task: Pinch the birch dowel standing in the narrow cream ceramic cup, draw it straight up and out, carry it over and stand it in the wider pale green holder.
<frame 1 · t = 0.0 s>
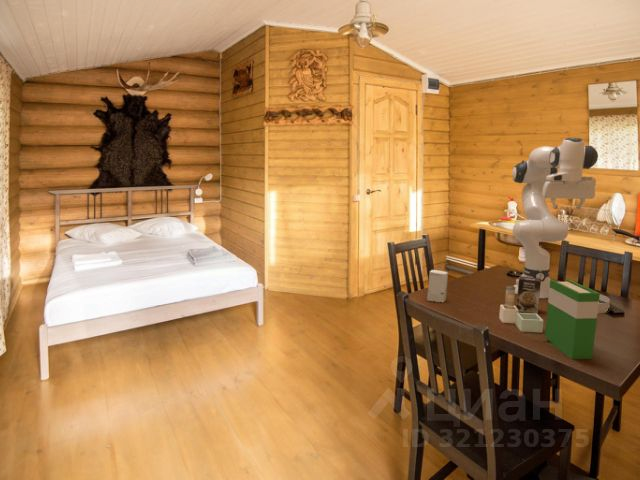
hand: (566, 209, 191), 48 cm above the table, tool pointing down, fingers open, 8 cm apart
green cereal box: (567, 348, 165), on the table
holder: (528, 330, 182), on the table
coffee box: (526, 312, 203), on the table
dowel: (508, 320, 190), point 1 cm above the table, touching cup
skincare box: (436, 300, 221), on the table
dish: (581, 306, 212), on the table
cup: (507, 322, 190), on the table
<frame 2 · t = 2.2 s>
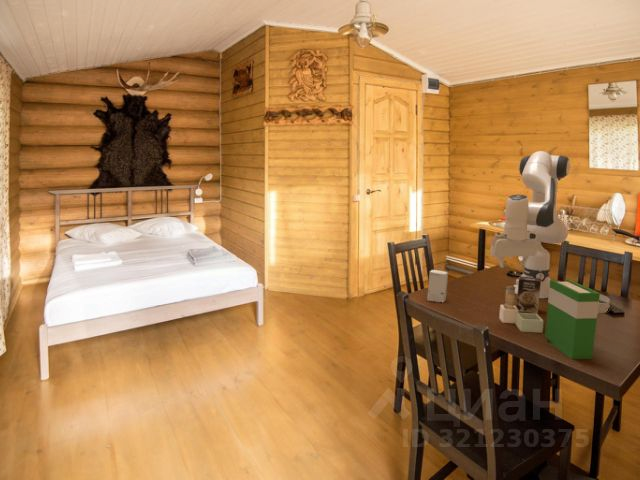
hand: (512, 266, 186), 25 cm above the table, tool pointing down, fingers open, 8 cm apart
nothing on the table moved.
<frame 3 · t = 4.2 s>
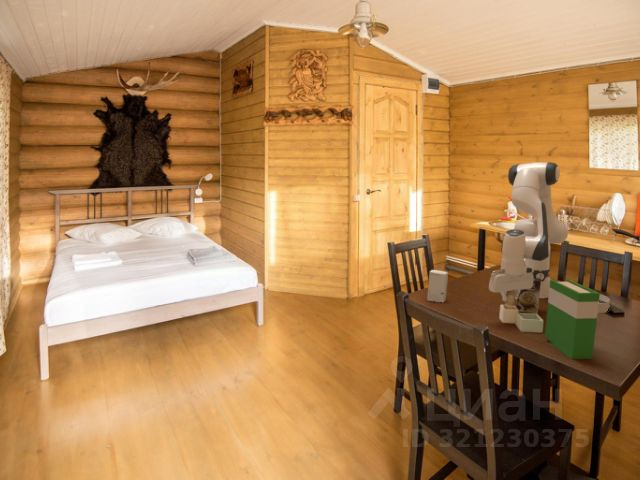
hand: (509, 300, 189), 10 cm above the table, tool pointing down, fingers closed on dowel, 3 cm apart
dowel: (508, 320, 190), point 1 cm above the table, touching cup, gripper
everything else where it was.
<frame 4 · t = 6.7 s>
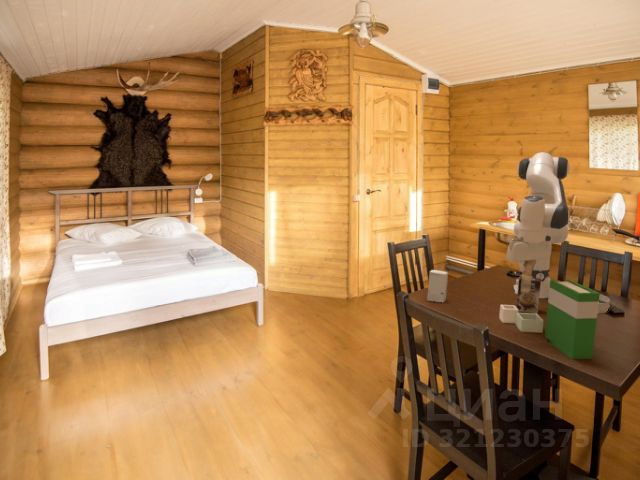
hand: (527, 270, 179), 25 cm above the table, tool pointing down, fingers closed on dowel, 3 cm apart
dowel: (525, 292, 181), point 16 cm above the table, touching gripper
everything else where it was.
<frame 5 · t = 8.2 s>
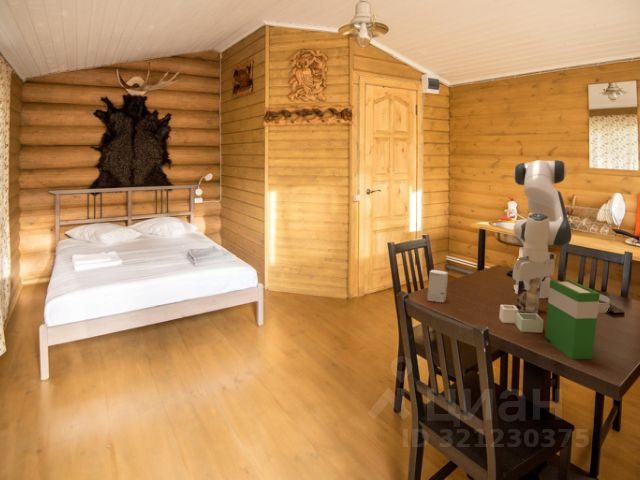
hand: (531, 288, 178), 18 cm above the table, tool pointing down, fingers closed on dowel, 3 cm apart
dowel: (530, 310, 180), point 9 cm above the table, touching gripper
everything else where it was.
when the fingers open (12 cm above the table, at t = 9.6 s): dowel drops 2 cm, resting on holder.
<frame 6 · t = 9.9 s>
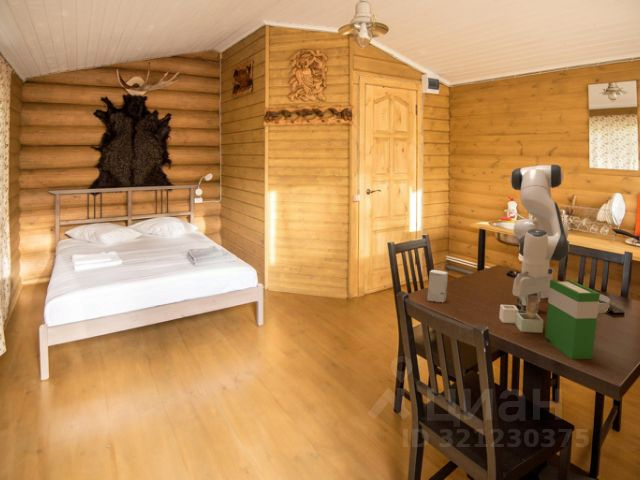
hand: (530, 303, 180), 12 cm above the table, tool pointing down, fingers open, 6 cm apart
dowel: (528, 328, 182), point 1 cm above the table, touching holder
everything else where it was.
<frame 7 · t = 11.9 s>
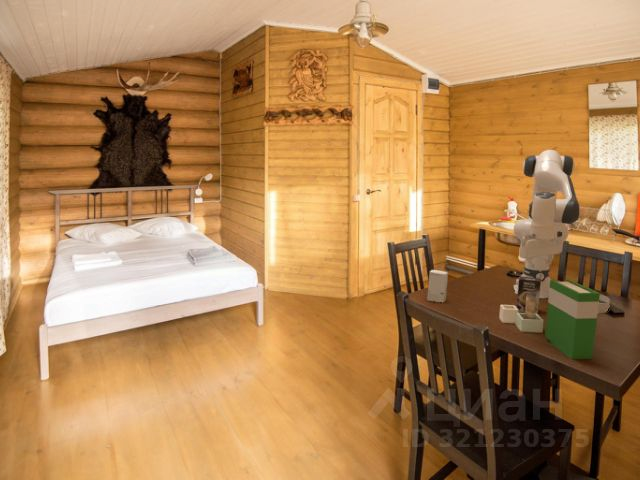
hand: (539, 266, 181), 26 cm above the table, tool pointing down, fingers open, 8 cm apart
nothing on the table moved.
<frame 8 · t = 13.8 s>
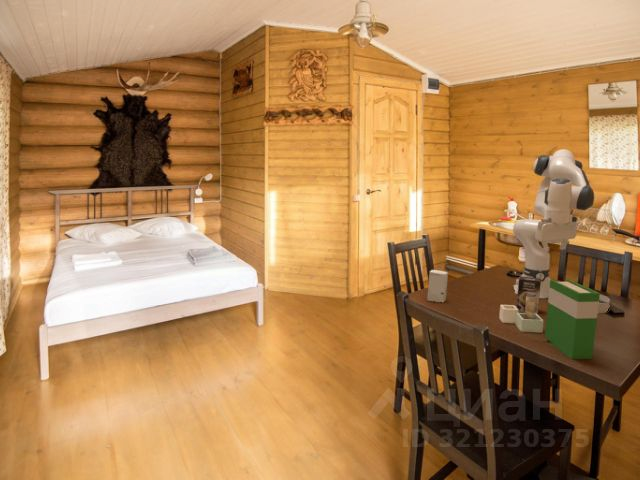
hand: (554, 250, 188), 31 cm above the table, tool pointing down, fingers open, 8 cm apart
nothing on the table moved.
at the end: dowel 0.1 cm off-centre on the holder, point 0.8 cm above the holder's base; dowel tilted 0°; the gripper is holding nothing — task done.
